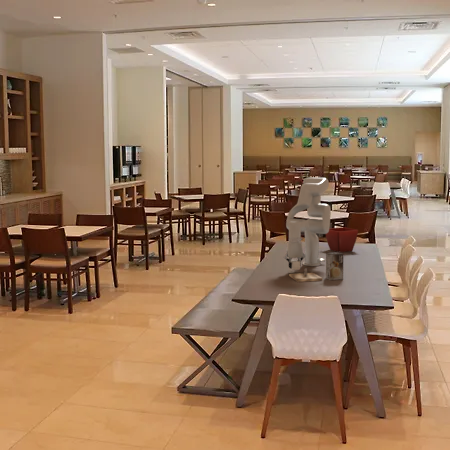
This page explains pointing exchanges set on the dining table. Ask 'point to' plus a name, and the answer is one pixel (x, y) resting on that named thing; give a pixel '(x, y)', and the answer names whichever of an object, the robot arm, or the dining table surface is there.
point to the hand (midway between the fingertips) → (294, 267)
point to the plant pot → (341, 239)
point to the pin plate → (305, 276)
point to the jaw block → (295, 265)
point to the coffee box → (334, 266)
